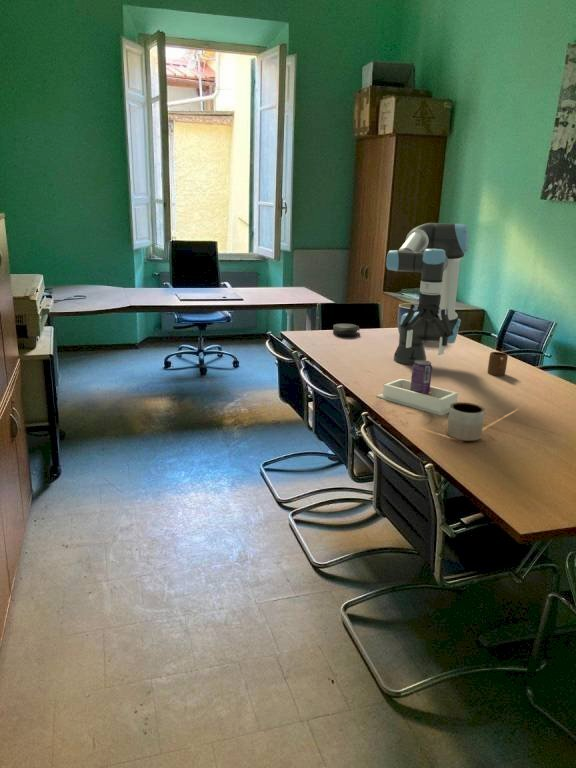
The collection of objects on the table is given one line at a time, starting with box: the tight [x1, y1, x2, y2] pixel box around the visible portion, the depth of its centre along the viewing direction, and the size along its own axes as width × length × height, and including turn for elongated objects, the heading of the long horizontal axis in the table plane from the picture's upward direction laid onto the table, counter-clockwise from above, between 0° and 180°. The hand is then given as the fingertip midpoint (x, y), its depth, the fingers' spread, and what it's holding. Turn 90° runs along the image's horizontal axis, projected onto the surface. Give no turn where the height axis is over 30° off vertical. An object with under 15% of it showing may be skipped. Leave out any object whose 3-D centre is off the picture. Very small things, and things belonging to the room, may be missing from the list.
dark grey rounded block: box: [332, 323, 360, 339], centre depth 321 cm, size 14×18×8 cm
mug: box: [487, 351, 509, 377], centre depth 255 cm, size 12×8×9 cm, turn 175°
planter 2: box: [446, 401, 485, 442], centre depth 184 cm, size 11×11×10 cm
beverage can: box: [410, 359, 433, 394], centre depth 215 cm, size 7×7×12 cm
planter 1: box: [397, 302, 419, 335], centre depth 318 cm, size 21×21×19 cm
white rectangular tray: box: [375, 378, 459, 417], centre depth 217 cm, size 28×16×5 cm, turn 47°
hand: (424, 350), depth 212 cm, fingers open, 13 cm apart
